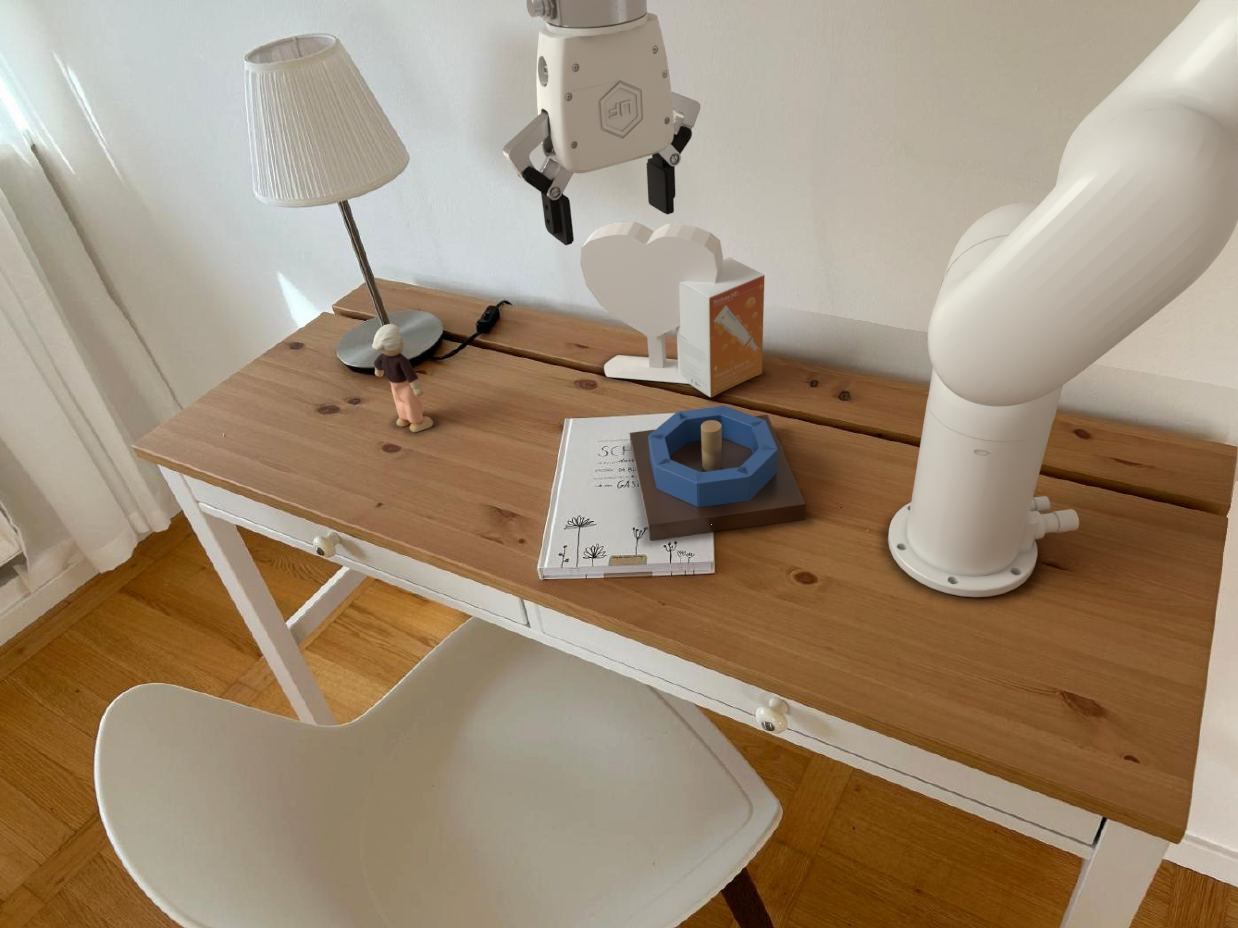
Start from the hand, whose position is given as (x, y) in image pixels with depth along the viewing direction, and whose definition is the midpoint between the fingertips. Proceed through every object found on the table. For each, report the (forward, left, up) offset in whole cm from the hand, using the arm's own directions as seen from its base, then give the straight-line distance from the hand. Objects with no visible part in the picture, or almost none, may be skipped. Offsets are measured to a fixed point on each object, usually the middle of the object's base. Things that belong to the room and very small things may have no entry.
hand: (612, 223), depth 76 cm
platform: (-8, +2, -28) cm, 29 cm away
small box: (-12, -17, -28) cm, 35 cm away
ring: (-8, +2, -26) cm, 27 cm away
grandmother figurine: (+24, -16, -28) cm, 40 cm away
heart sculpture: (-5, -20, -28) cm, 34 cm away
